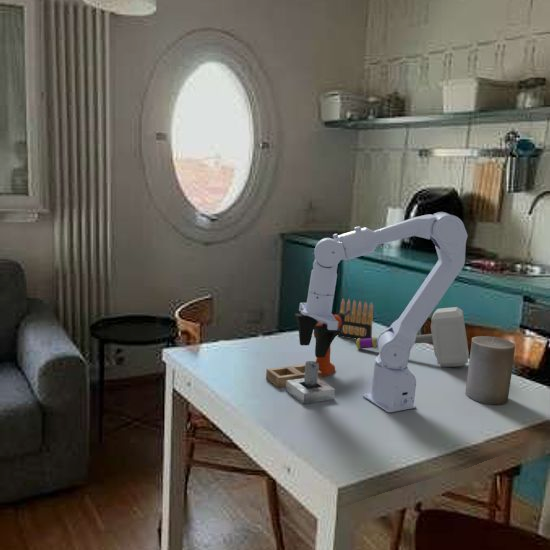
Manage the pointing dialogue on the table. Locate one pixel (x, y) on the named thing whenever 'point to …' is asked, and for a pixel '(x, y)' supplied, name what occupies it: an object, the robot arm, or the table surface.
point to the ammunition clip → (356, 321)
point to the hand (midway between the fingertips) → (312, 350)
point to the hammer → (440, 337)
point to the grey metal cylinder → (311, 374)
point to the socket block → (310, 391)
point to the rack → (286, 374)
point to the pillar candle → (490, 370)
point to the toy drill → (325, 361)
